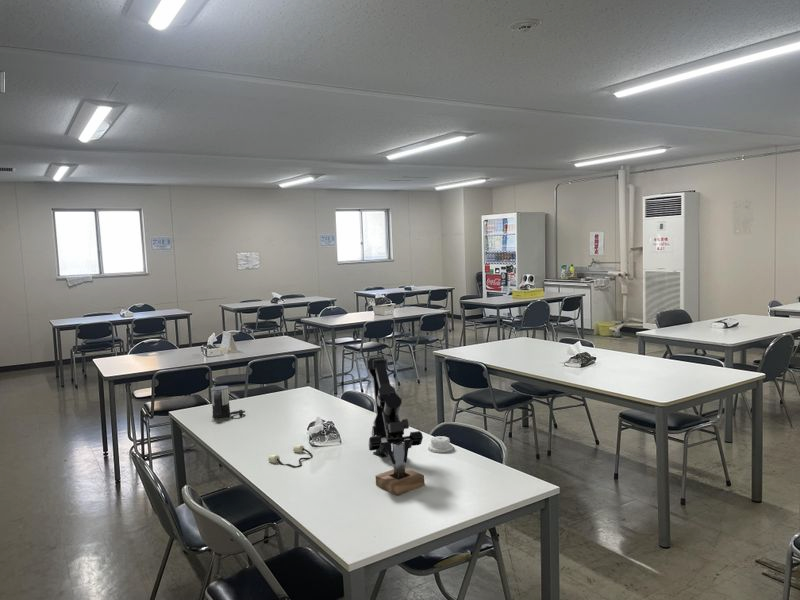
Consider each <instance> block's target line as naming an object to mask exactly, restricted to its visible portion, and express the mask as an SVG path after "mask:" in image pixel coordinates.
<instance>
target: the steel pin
mask: <svg viewBox="0 0 800 600" xmlns="http://www.w3.org/2000/svg"><path fill="white" fill-rule="evenodd" d="M391 445H392V451H393V454H392V455H393V459H394V465H393V464H392V465H393V467H392V468H393V469H394V478H395V479H398V480H400V479H402V478H405V477H406V476H405V467H406V463H405V456H404V443H403V442H395V443H393V444H391Z"/></svg>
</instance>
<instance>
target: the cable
mask: <svg viewBox="0 0 800 600" xmlns="http://www.w3.org/2000/svg"><path fill="white" fill-rule="evenodd" d="M292 452H294V453H295V454H301V453H304V452H305V453H308V455H310V457H300V458H299V459H298V463H299V464H298V465H293V464H290V463H283V462H282V461H281V460H280V457H281V456H279V455H278V454H270V455H269V457H268V462H269V463H271V464H277V463H279V464H280V465H281V466H288V467H291V468H294V469H297V468H300V467H302V466H303V463H302V460H310V459H313V457H314V456H313V454H312V453H311V452H310V451H309V450H308V449H306V448H305V446H304V445H302V444H296V445H294V446H293V449H292Z"/></svg>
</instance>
